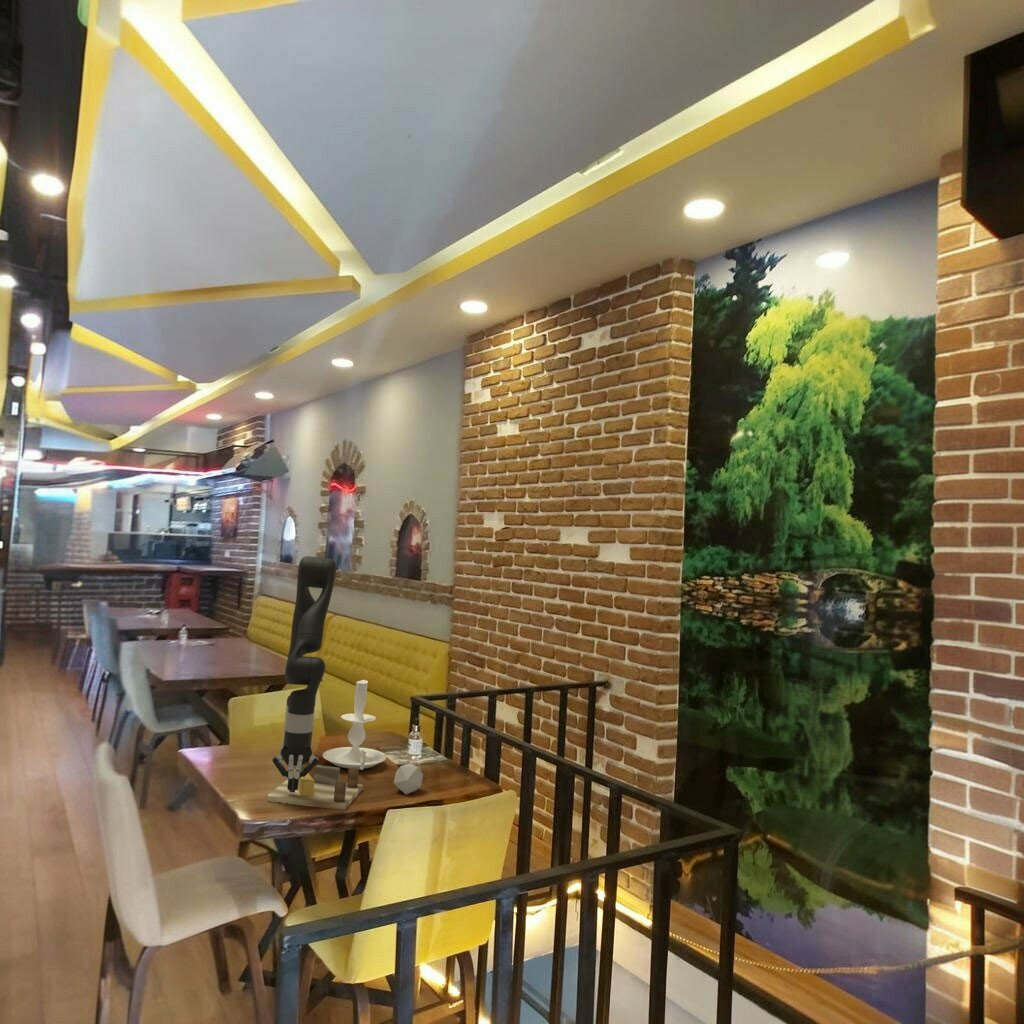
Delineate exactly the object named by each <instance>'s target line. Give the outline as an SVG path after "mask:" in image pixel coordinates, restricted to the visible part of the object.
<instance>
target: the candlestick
mask: <svg viewBox="0 0 1024 1024" xmlns="http://www.w3.org/2000/svg"><path fill="white" fill-rule="evenodd" d="M368 683H369V681H368V680H366V679H361V680H358V681H356V682H355V690H354V700H353V701H354V707H353V711H354V713H345V714H343V715H341V716H340V718H341V719H342V720H344V721H347V722H351V724H352V725H351V728H350V729H349V731H348V733H347V739H348V742H349V743H350V745H351V746H346V747H344V746H343V747H336V748H335V747H334V748H331V749H327V750H326V751H324V752H323V753H322V757H323V759H324V760H326V761H328V762H330V763H331V764H333V765H335V767H338V768H344V769H349V768H358V769H359V771H360V770H361V771H363V770H364V769H368V768H372V767H375V766H376V765H379V764H380V763H383V762H384V761H386V759H387V755H386V754H385V753H383V752H382V751H379V750H376V749H374V748H368V747H360V745H362V743H364V741H365V739H366V735H367V734H366V731H365V729H364V724H365V723H368V722H373V721H375V720H377V717H376V716H375V715H371V714H367V713H364V712H365V707H366V706H367V705H366V704H367V695H368V694H367V693H368V686H369V685H368Z"/></svg>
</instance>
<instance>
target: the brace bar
mask: <svg viewBox="0 0 1024 1024" xmlns="http://www.w3.org/2000/svg"><path fill="white" fill-rule="evenodd" d="M304 768H305V763H304V764H303V765H302V766H301V770H300V771H302V770H303V769H304ZM295 771H296V766H294V768H293V777H295ZM313 779H314V778H313V777H312V776H311V775H310V773H308V774H307V775H306V776H305V777H301V778H299V783H298V789H297V790H298V791H299V793H300V794H301V795H302V797H303V796H313V792H314V782H315V781H314V780H313Z"/></svg>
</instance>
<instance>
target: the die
mask: <svg viewBox="0 0 1024 1024" xmlns="http://www.w3.org/2000/svg"><path fill="white" fill-rule="evenodd" d="M423 777H424V773H423V772H422V771H421V770H420V769H419V768H418V767H417V766H416V765H415V764H414V763H412V762H410V763H407V764H404V765H401V766H400V767H399V768H398V769H397V771H396V772H395V775H394V779H393V784H394V785H395V787H397V788H398V789H399V790H400V792H402V793H403V794H405V795H406V796H407V795H409V794H412V793H414V792H417V791H418V790H419V788H420V787H421V786H422V783H423Z"/></svg>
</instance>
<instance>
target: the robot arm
mask: <svg viewBox="0 0 1024 1024" xmlns="http://www.w3.org/2000/svg"><path fill="white" fill-rule="evenodd" d="M297 569H298V570H297V579H296V597H295V605H294V611H293V617H292V621H291V622H292V624H291V632H290V633H291V635H290V644H289V651H288V655H287V659H286V664H285V672H284V679H285V681H286V683H287V684H289V685H296V686H297V685H299V686H302V685H303V686H306V687H305V688H301V689H296V690H292V691H291V692H290V694H289V695H288V696H287V699H286V707H285V717H284V726H283V736H282V737H283V738H282V744H281V750H280V752H279V753H278V754H277V755H273V756H272V760H271V761H272V763H273V764H274V766H275V767H276V769H277V770H278V771H279V773H280V775H281V776H282V777H286V778H287V779H288V787H287V789H288V790H290V792H295V790H297V789H298V783H299V778H301V777H305V776H306V775H307V774H310V772H311V771H312V770H313V768H315V767H316V766H317V764H318V763H319V757H318V756H315V755H314V754H313V750H312V740H313V732H314V722H315V721H314V719H315V709H316V708H315V707H316V698H317V697H316V696H317V692H318V689H319V687H320V684H321V681H322V680H323V678H324V675H325V672H326V664H325V661H324V659H323V658H320V657H315V656H304V655H307V654H313V653H317V652H318V651H320V650H321V648H322V642H323V636H324V628H325V621H326V618H327V614H328V609H329V606H330V602H331V598H332V595H333V590H334V585H335V580H336V574H337V564H336V561H335V560H334V559H332V558H326V557H324V558H323V557H318V556H307V555H306V556H303V557H302V558H301V559H300V561H299V565H298V567H297ZM309 588H315V589H321V593H320V594H319V596H318V598H317V599H316V600H315V599H314V597H313V595H312V594H311V591H310V589H309ZM282 760H284V763H285V764H286V765H287V766H288V770H287V769H286V768H285V766H284V765H283V763H282ZM307 761H308V762H309V763H308V764H307V765H305V764H306V763H307ZM303 764H304V765H305V766H304V769H303V770H302V771H300V770H301V766H302V765H303ZM295 766H296V771H295V777H293V775H294V767H295Z"/></svg>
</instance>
